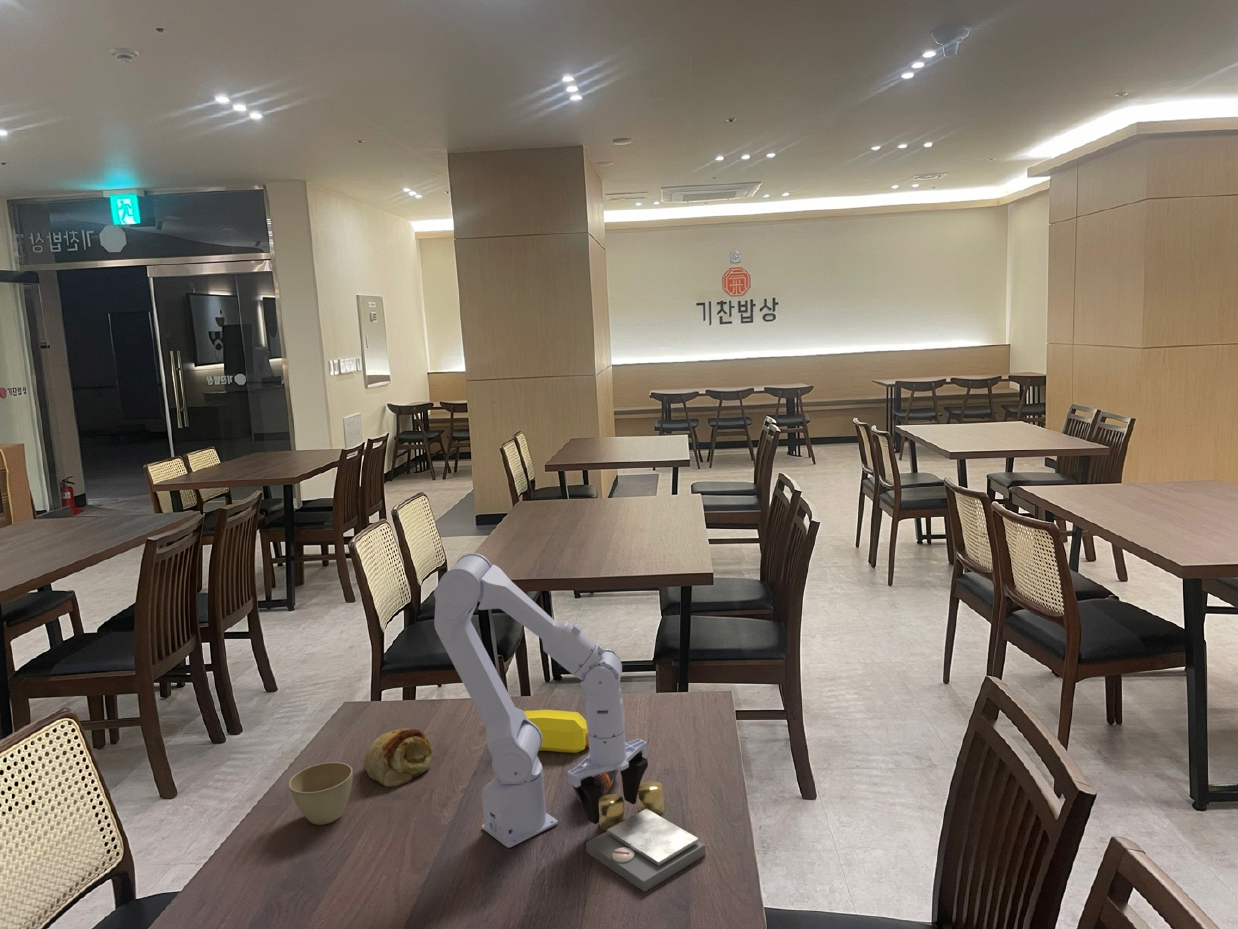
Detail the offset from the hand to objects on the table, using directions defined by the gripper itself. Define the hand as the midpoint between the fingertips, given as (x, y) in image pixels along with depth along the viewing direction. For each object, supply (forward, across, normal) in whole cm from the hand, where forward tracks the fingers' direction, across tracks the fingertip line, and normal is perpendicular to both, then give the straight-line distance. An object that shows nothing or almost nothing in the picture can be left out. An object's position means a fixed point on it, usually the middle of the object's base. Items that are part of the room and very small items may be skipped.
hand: (612, 811), depth 137 cm
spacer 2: (+2, +7, -1) cm, 7 cm away
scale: (+2, -2, -9) cm, 10 cm away
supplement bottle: (-1, +9, +13) cm, 16 cm away
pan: (+1, 0, -9) cm, 9 cm away
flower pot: (+2, -32, +36) cm, 48 cm away
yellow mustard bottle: (+3, +8, +29) cm, 30 cm away
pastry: (+2, -16, +42) cm, 45 cm away
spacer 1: (+2, 0, 0) cm, 2 cm away
